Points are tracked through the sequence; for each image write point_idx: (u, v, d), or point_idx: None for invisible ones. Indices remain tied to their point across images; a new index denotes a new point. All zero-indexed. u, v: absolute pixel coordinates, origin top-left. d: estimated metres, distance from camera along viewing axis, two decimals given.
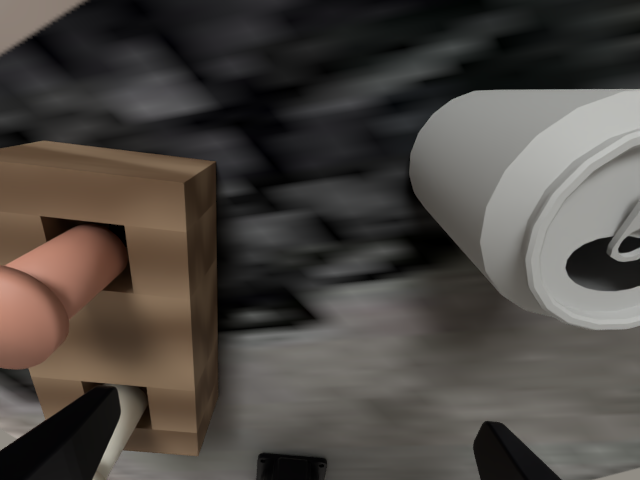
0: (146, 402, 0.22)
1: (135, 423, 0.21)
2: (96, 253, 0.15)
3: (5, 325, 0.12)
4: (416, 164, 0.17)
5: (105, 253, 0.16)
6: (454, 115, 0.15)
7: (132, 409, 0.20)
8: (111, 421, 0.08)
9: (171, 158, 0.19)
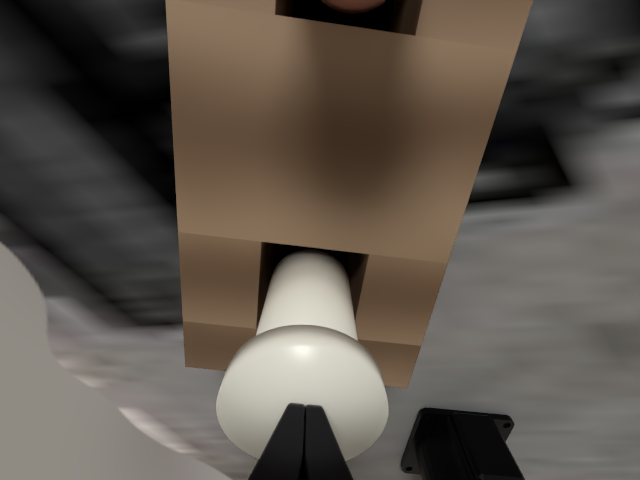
0: None
1: None
2: None
3: None
4: None
5: None
6: None
7: (348, 289, 0.12)
8: None
9: None
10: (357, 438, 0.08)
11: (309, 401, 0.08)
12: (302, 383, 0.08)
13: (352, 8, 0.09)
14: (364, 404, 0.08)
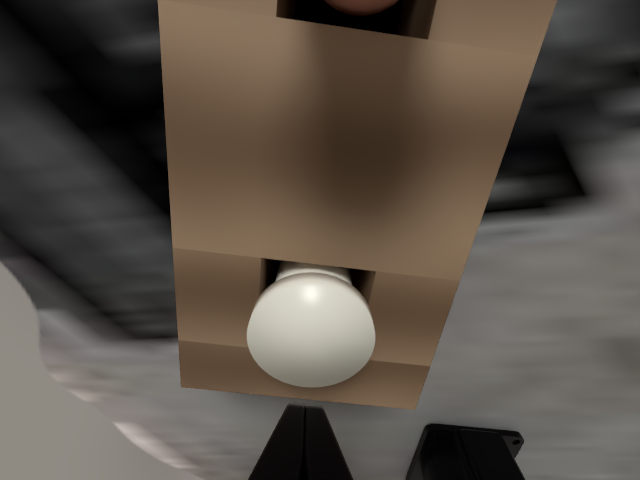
0: None
1: None
2: None
3: None
4: None
5: None
6: None
7: None
8: None
9: None
10: (352, 361, 0.11)
11: (316, 329, 0.11)
12: (311, 314, 0.10)
13: (360, 10, 0.08)
14: (356, 332, 0.11)
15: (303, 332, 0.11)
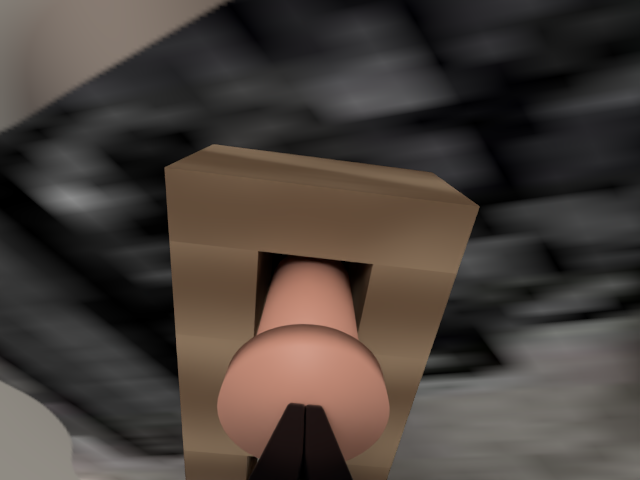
0: None
1: None
2: (347, 291, 0.12)
3: None
4: None
5: (349, 290, 0.12)
6: None
7: None
8: None
9: (382, 168, 0.15)
10: None
11: None
12: None
13: None
14: None
15: None
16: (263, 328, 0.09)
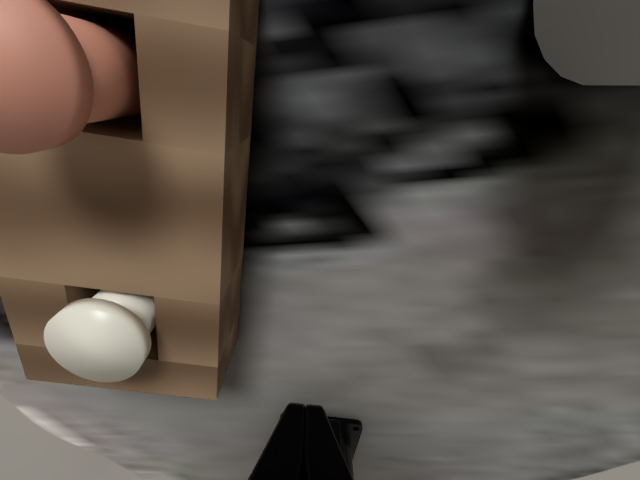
0: None
1: None
2: (125, 47, 0.11)
3: (2, 67, 0.08)
4: None
5: (135, 55, 0.12)
6: None
7: None
8: None
9: None
10: (130, 363, 0.15)
11: (95, 340, 0.14)
12: (88, 329, 0.14)
13: None
14: (126, 343, 0.14)
15: (86, 342, 0.14)
16: None
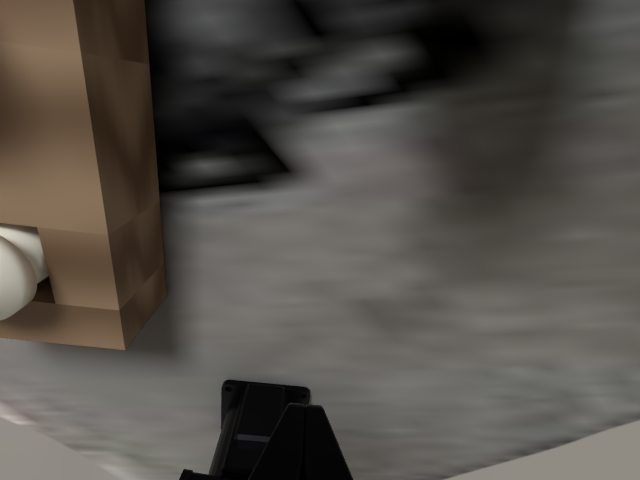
0: None
1: None
2: None
3: None
4: None
5: None
6: None
7: None
8: None
9: None
10: (9, 298, 0.14)
11: None
12: None
13: None
14: (0, 272, 0.13)
15: None
16: None
